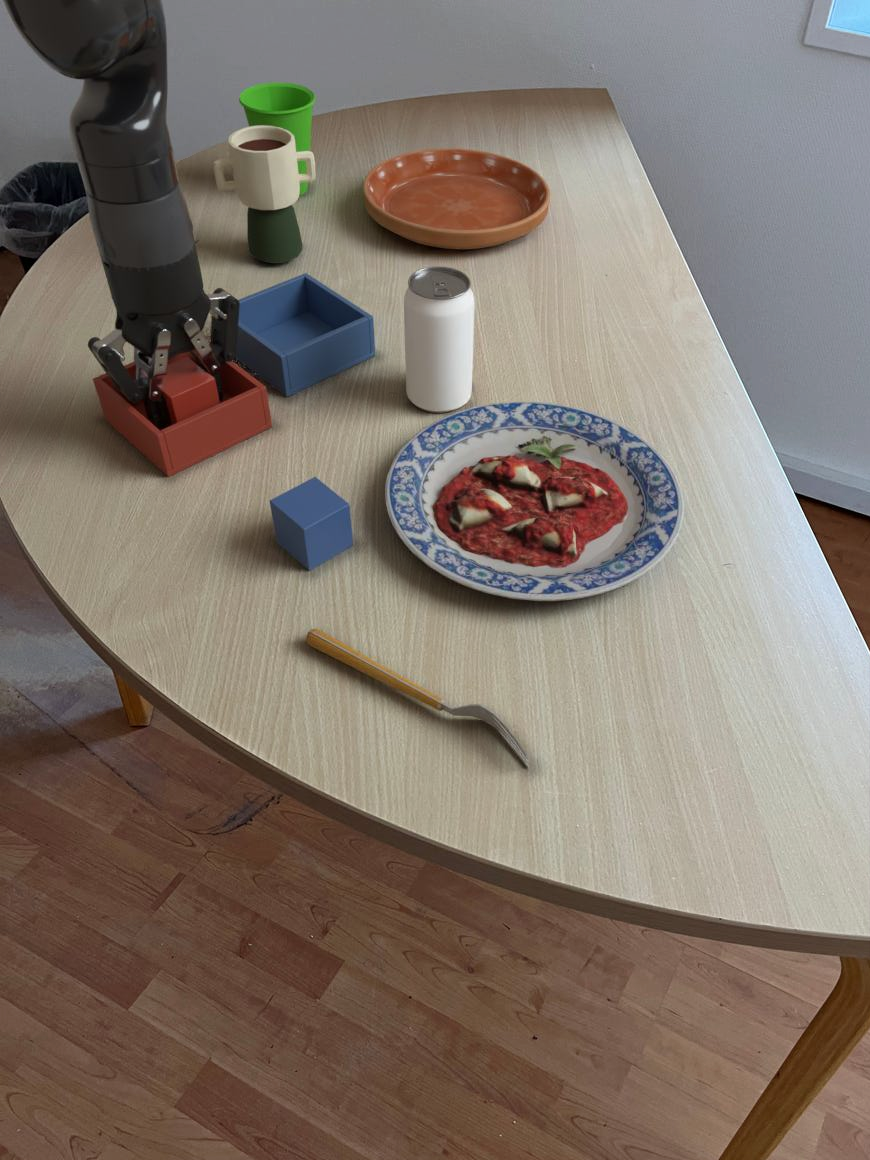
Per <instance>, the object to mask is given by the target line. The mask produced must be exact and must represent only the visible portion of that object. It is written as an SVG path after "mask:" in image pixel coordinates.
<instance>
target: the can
mask: <svg viewBox="0 0 870 1160" xmlns="http://www.w3.org/2000/svg"><path fill="white" fill-rule="evenodd" d="M407 285H408V286H407V288H406V290H405V293H404V296H403V322H404V323H403V324H404V326H403V329H404V353H405V354H404V358H405V359H404V361H405V362H404V364H405V389H406V390H405V391H406V396H407V398H408V400H409V401H410V402H411V403H412V405H414V406H415V407H417V408H419V409H420V410H423V411H424V412H429V413H434V414H435V413H436V414H445V413H450V412H454V411H456V410H459V409H461V408H462V407H463V406H464V405H465V404H467V403H468V402H469V401H470V399H471V397H472V392H473V372H474V371H473V368H474V367H473V365H474V342H475V341H474V339H475V338H474V337H475V295H474V293H473V289H472V288H471V279H470V278H469V276H468V275H467V274H466V273H464V272H462V271H461V270H459V269H456V268H453V267H449V266H428V267H424V268H421V269H418V270H416V271H414V272H413V273H412V274H411V275H410V276H409V277H408V280H407Z"/></svg>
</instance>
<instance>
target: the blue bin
mask: <svg viewBox="0 0 870 1160" xmlns="http://www.w3.org/2000/svg"><path fill="white" fill-rule="evenodd" d="M237 300H238V301H239V303H240V307H239V320H238V333H237V346H236V357H235V359H236V361H238V362H240V363H241V364H242V365H243V366H245V367H246V368H247V369H249V370H250V371H252V373H254V374H255V375H257V376H258V377H259V378H261V379H262V380H263V381H265V382H266V383H267V384H269V385H270V386H271V387H272V388H274V389H275V390H277V391H278V392H279V393H280V394H282V395H283V396H284V397H286V398H289V397H290V396H292V395H295V394H297V393H299V392H301V391H303V390H305V389H308V388H310V387H312V386H314V385H316V384H318V383H320V382H323V381H324V380H328V379H329V378H332V377H333V376H335V375H337V374H339V373H342V372H344V371H346V370H349V369H350V368H352V367H354V366H357V365H359V364H361V363H363V362H365V361H367V360H369V359H371V358H373V357H375V356H376V343H375V324H374V323H375V322H374V316H373V315H372V314H370V313H369V312H367V311H365V309H362V308H361V307H359V306H358V305H356V304H354V303H353V302H352V301H350V300H349V299H347V298H346V297H344V296H343V295H341V294H339V293H338V292H337V291H335V290H333V289H331V288H330V287H329V286H327V285H325V284H324V283H323V282H321V281H319V280H318V279H316V278H314V277H313V276H312V275H310V274H308V273H307V272H305V273H302V274H300V275H297V276H294V277H292V278H290V279H286V280H284V281H282V282H279V283H276V284H275V285H272V286H269V287H267V288H264V289H262V290H259V291H257V292H254V293H252V294H250V295H247V296H244V297H241V298H239V299H237Z"/></svg>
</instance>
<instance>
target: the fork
mask: <svg viewBox="0 0 870 1160" xmlns="http://www.w3.org/2000/svg"><path fill="white" fill-rule="evenodd" d="M305 638H306V643H307V645H309V646H310V647H312V648H314V649H316V650H318V651H320V652H322V653H324V654H326V655H328V656H329V657H331V658H334V659H335V660H337V661H340V662H342V663H344V664H345V665H348V666H349V667H352V668H353V669H355V670H357V671H360V672H361V673H364V674H366V675H368V676H370V677H372V678H373V679H376V680H378V681H379V682H381V683H383V684H385V685H387V686H389V687H391V688H393V689H395V690H397V691H399V692H400V693H403V694H406V695H407V696H410V697H411V698H413V699H415V700H417V701H419V702H421V703H423V704H425V705H427V706H429V707H431V708H433V709H435V710H437V711H444V712H446V713H448V714H450V715H452V716H453V717H457V716H458V717H473V718H475V719H479V720H480V721H483V722H484V723H487V724H488V725H490V726H492V727H494V728H495V729H496V730H498V731H499V732H500V733H501V734H502V735H503V736H504V737H505V738H506V739H507V740H508V741H509V742H510V743H511V745H512V746H513V747H514V748H515V749H516V750H517V752H518V754H519V755H520V756H521V758H522V760H523V761H524V762H525V764H526V765H527V767H528V768H530V765H529V760H528V759H529V758H528V756H527V754H526V752H525V751H524V750H523V748H522V747H521V745H520V743H519V742H518V740H517V739H516V737H514V735H513V734H512V733H511V731H510V730H509V729H508V727H507V726H506V725H505V724H504V722H503V721H502V720H501V719H500V717H499V716H498V714H496V712H494V711H493V709H491V708H490V707H487V706H485V705H483V704H481V703H473V704H472V703H471V704H465V705H460V706H455V707H452V706H450V705H448V704H446V702H445V700H444V699H443V698H441V697H439V696H437V695H435V694H433V693H432V692H430V691H428V690H427V689H425V688H423V687H422V686H420V685H418V684H416V683H414V682H412V681H411V680H409V679H407V678H405V677H403V676H402V675H400V674H399V673H397V672H395V671H393V670H391V669H390V668H388V667H386V666H384V665H382V664H381V663H379V662H377V661H375V660H374V659H371V658H370V657H368V656H367V655H365V654H363V653H361V652H360V651H358V650H356V649H354V648H352V647H351V646H349V645H347V644H345V643H343V642H341V641H340V640H338V639H336V638H334V637H333V636H331V635H329V634H327V633H325V632H324V631H323V630H320V629H318V628H313V629H310V630H309V631H308V632H307V633H306V637H305Z"/></svg>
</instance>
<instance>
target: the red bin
mask: <svg viewBox="0 0 870 1160" xmlns="http://www.w3.org/2000/svg"><path fill="white" fill-rule="evenodd" d="M208 344H209V345H210V342H208ZM186 357H188V358H190V359H191V360H192V361H193V362H195V360H194V359H193V357H192V356H191V354H190V353H189V352H187V353H180V354H177V355H176V356H174V357H173V358H172V359H170V360H168V363H167V365H169V364H171V363H174V362H176V361H179V360H181V359H183V358H186ZM195 363H196V362H195ZM196 364H197V363H196ZM197 365H198V364H197ZM124 366H125V368H126V370H127V371H128V373H129V374H130V376H131V377H132V379H133V380H136V364H135V362H134V361H132V362H130V363H127V364H124ZM219 375H220V380H221V386H222V390H223V400H221V401H220V404H218V405H215V406H213V407H211V408H209V409H207V410H204V411H202V412H200V413H198V414H196V415H193V416H191V417H189V418H187V419H185V420H182V421H180V422H178V423H176V424H173V425H171V426H169V427H167V428H165V429H161V428H160V429H158V428H157V427H156V426H155V425H154V424H152V423H151V422H150V421H149V419H148V418H147V413H146V410H145V407H144V403H143V400H141V401H140V402H138V403H133V402H131V401H130V400H129V399H128V398H127V397H126V396H125V395H124V394H123V393H121V392H120V391H119V390H117V388H116V387H115V386H114V384H113V383H112V381H111V380H110V378H109V377H108V375H107V374H106V372H104V373H103V374H100V375H98V376H95V377H93V378H92V381H93V385H94V388H95V392H96V394H97V398H98V401H99V404H100V407H101V410H102V414H103V416H104V417H103V418H104V419H105V421H106V422H107V423H109V424H110V426H112V427H113V428H114V429H115V430H116V431H118V432H119V434H121V435H122V436H123V437H124V438H125V439H126V440H127V441H128V442H129V443H131V444H132V445H133V446H134V447H135V448H136V449H137V450H138V451H139V452H140V453H141V454H142V455H144V456H145V457H146V458H147V459H148V460H149V461H150V462H151V463H153V465H155V466H156V467H157V468H158V469H159V470H160V471H161V472H163V474H164V475H166V476H167V477H168V478H170V477H173V476H174V475H175V474H178V473H180V472H182V471H185V470H186V469H188V468H191V467H193V466H194V465H197V464H199V463H201V462H203V461H206V460H207V459H209V458H211V457H213V456H215V455H217V454H220V453H222V452H223V451H226V450H228V449H230V448H232V447H234V446H236V445H239V444H240V443H242V442H245V441H246V440H248V439H250V438H253V437H255V436H257V435H259V434H262V433H263V432H265V431H267V430H269V429H271V428H273V423H272V417H271V411H270V404H269V398H268V391H267V387H266V385H264V384H263V383H261V382H260V381H259V380H258V379H256V378H255V377H254V376H253V375H251V374H250V373H249V372H247V371H246V370H245V369H243V368H242V367H241V366H239V365H238V364H237V363H235V362H234V360H233V361H231V362H227V361H226V362H225V363H224V364H223V365H222V366H221V367H220V372H219Z"/></svg>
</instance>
